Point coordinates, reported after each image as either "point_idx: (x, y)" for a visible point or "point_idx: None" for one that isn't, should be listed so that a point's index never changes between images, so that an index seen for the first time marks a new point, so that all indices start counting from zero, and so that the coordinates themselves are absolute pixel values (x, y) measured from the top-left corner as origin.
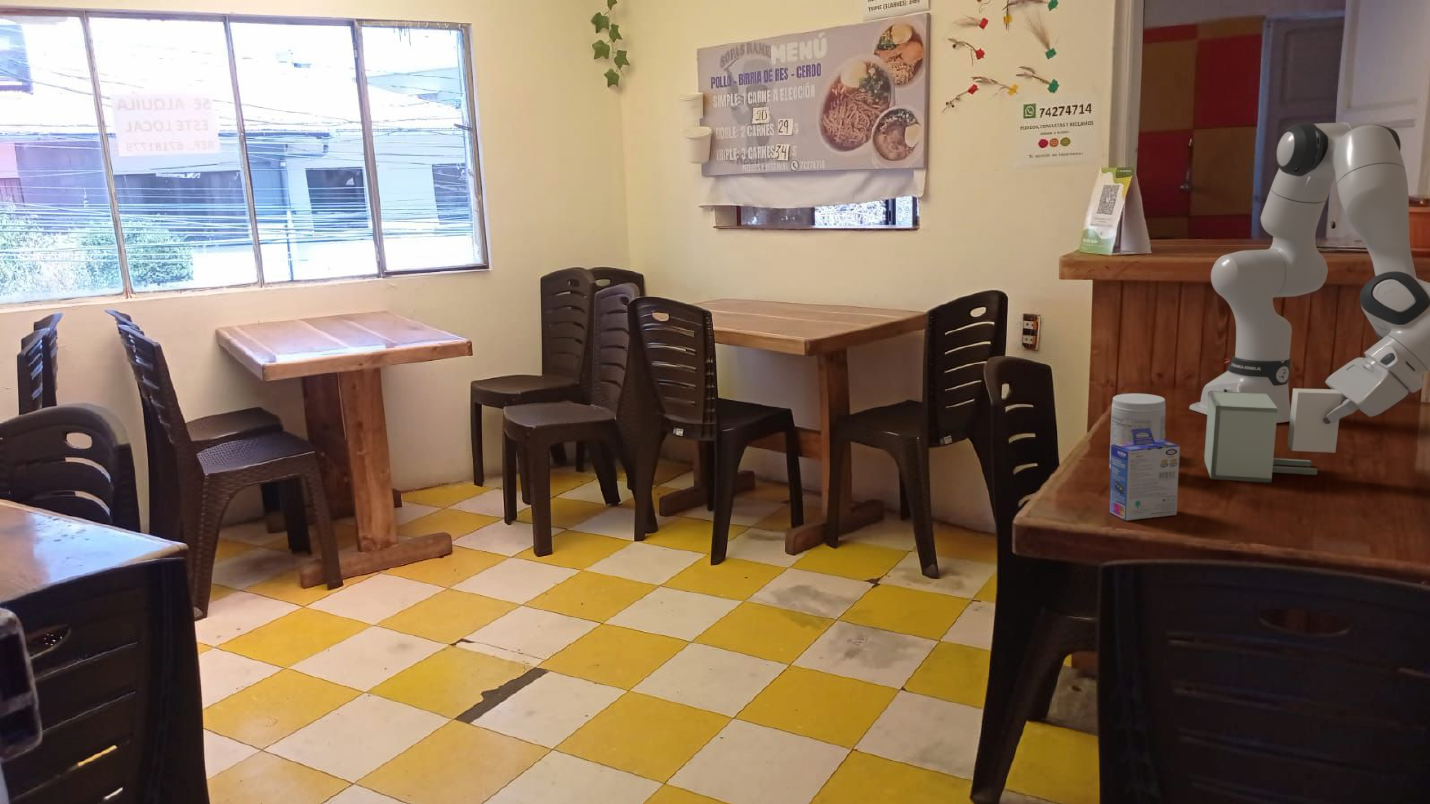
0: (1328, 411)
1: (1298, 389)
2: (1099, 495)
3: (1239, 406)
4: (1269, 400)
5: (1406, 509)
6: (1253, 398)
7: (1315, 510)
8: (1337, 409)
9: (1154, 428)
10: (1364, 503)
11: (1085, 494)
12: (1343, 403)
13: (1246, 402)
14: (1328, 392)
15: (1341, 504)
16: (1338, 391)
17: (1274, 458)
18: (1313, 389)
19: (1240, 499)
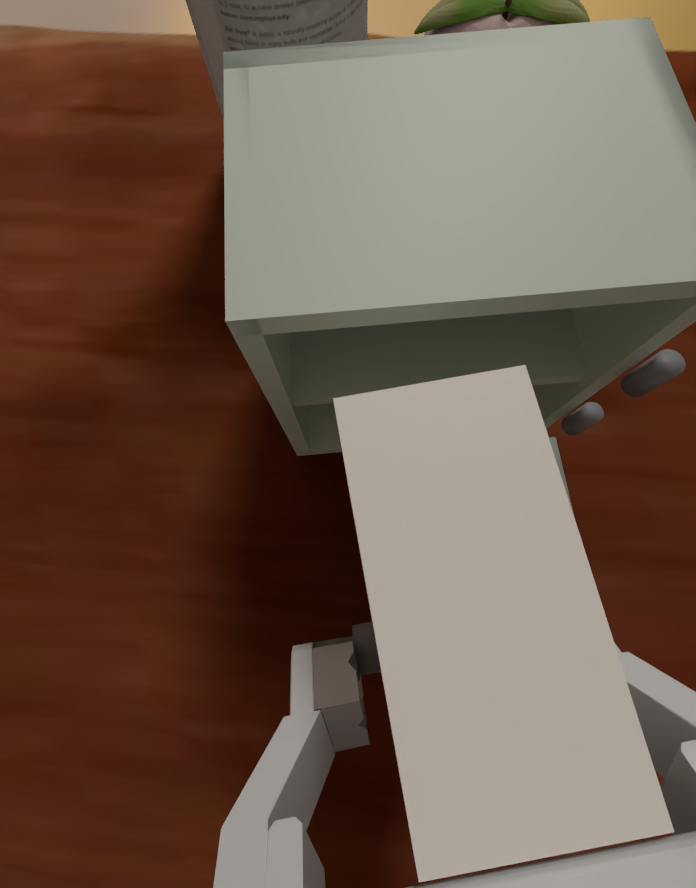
0: (350, 666)
1: (490, 408)
2: (72, 107)
3: (236, 142)
4: (492, 285)
5: (78, 865)
6: (523, 205)
7: (21, 560)
8: (272, 741)
9: (197, 12)
10: (125, 721)
11: (75, 85)
12: (263, 828)
13: (372, 172)
14: (433, 706)
15: (99, 643)
16: (546, 849)
17: (560, 470)
18: (553, 552)
19: (98, 374)
